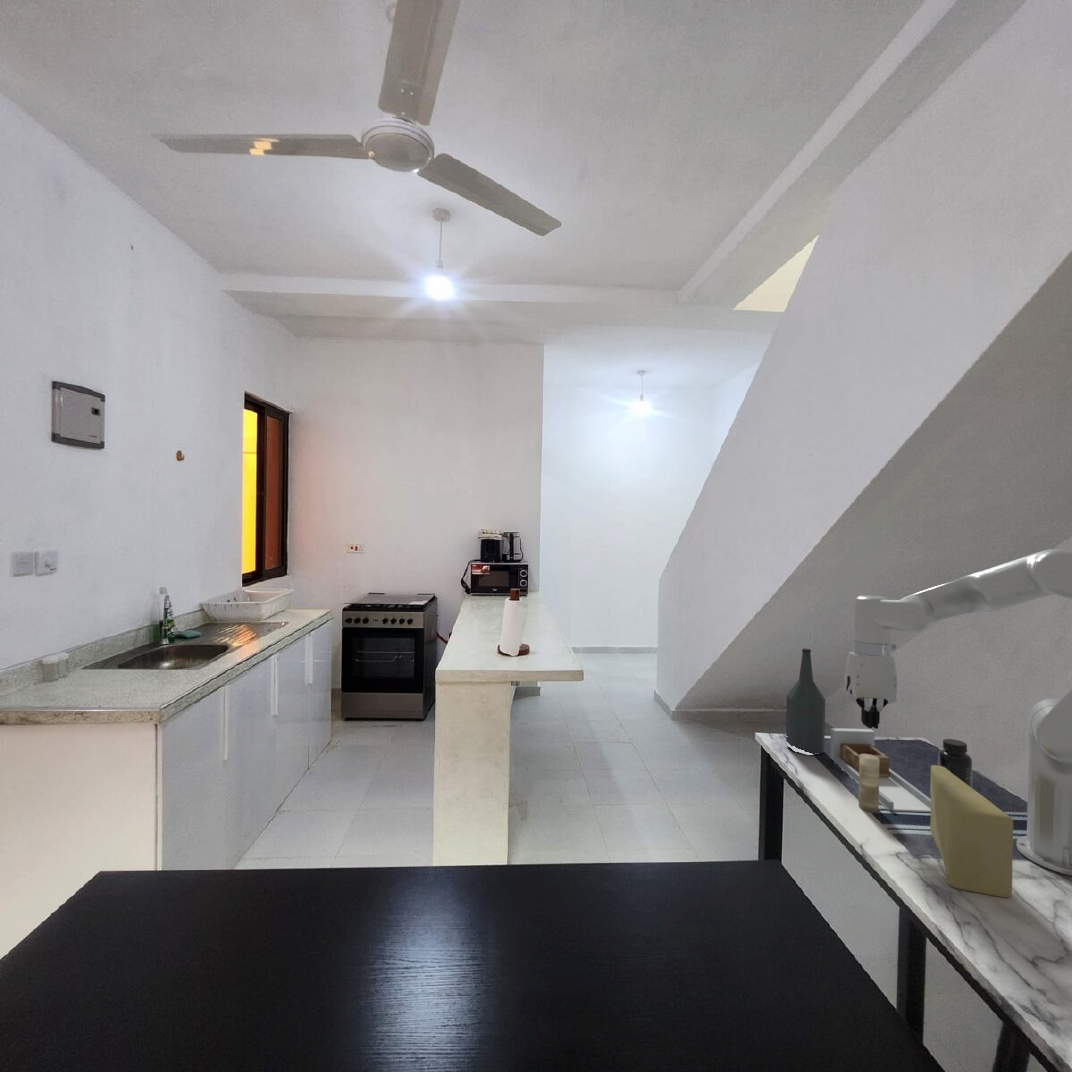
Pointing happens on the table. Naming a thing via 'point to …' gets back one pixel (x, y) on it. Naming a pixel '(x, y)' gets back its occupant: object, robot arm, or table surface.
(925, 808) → the track
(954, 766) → the supplement bottle
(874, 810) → the dowel
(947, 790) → the cheese
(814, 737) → the bottle
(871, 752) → the brown wooden open box
